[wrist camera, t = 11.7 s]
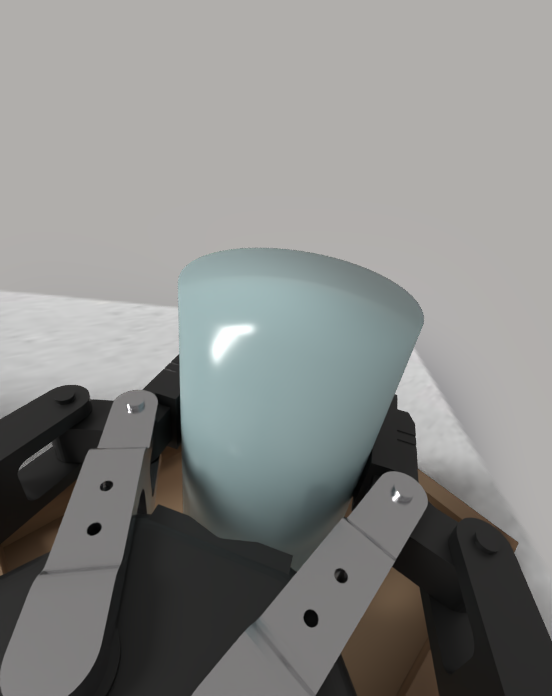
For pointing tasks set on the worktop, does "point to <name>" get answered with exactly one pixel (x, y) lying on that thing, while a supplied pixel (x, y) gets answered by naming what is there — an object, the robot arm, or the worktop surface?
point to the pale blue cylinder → (284, 389)
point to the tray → (372, 630)
